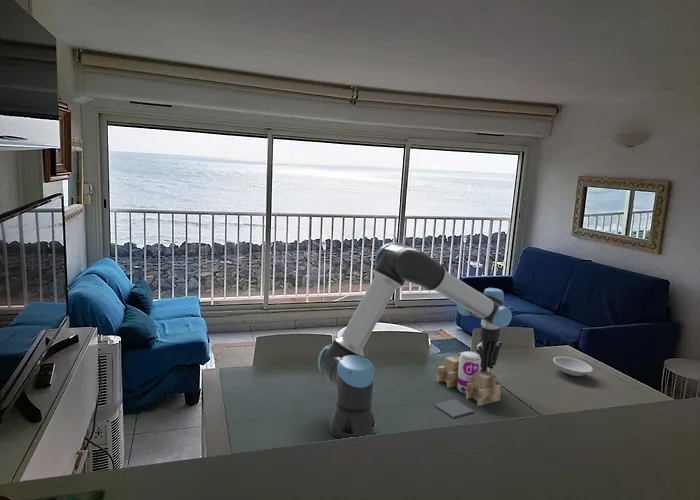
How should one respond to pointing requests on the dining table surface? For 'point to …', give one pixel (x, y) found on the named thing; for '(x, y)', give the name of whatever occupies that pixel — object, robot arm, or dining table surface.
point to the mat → (454, 408)
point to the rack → (479, 389)
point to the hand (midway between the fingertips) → (484, 382)
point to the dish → (572, 366)
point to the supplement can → (467, 369)
